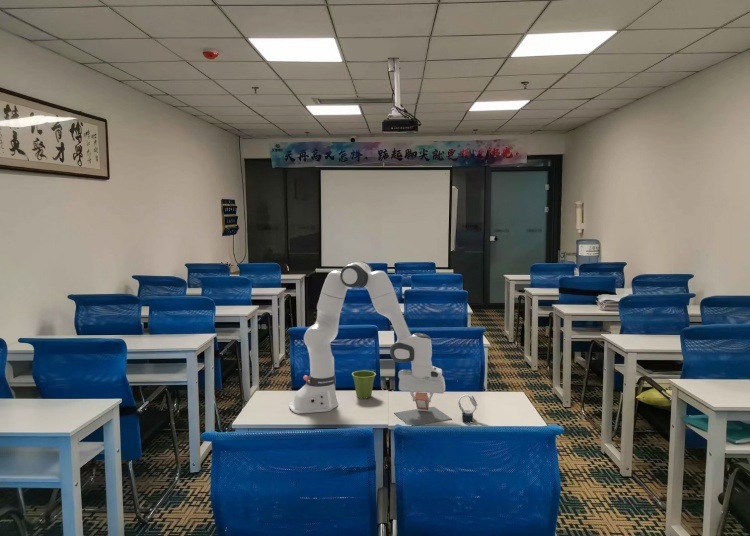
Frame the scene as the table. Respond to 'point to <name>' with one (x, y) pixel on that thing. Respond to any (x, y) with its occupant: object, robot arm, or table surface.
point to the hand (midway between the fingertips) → (421, 401)
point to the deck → (421, 401)
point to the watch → (468, 415)
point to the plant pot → (363, 383)
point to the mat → (422, 416)
